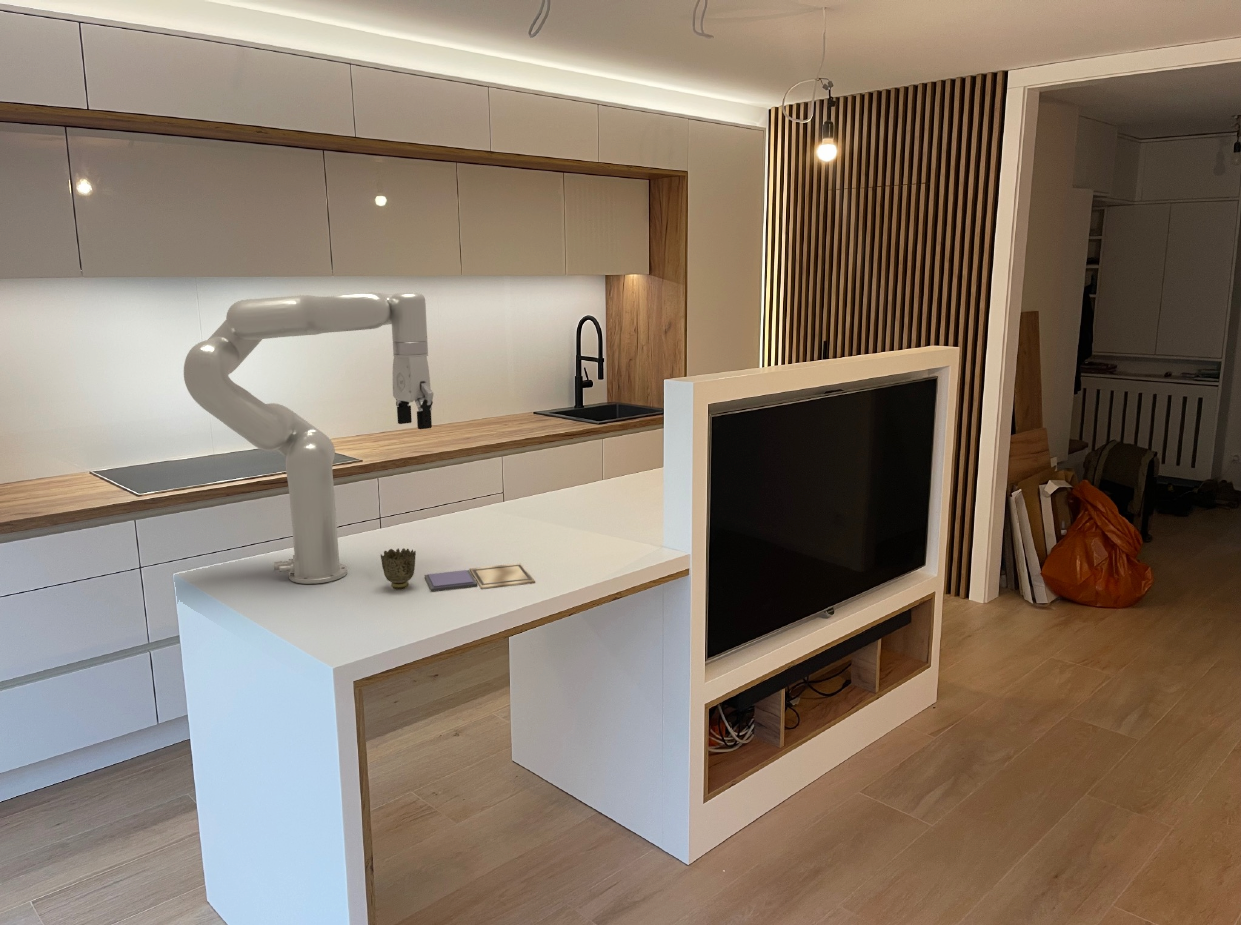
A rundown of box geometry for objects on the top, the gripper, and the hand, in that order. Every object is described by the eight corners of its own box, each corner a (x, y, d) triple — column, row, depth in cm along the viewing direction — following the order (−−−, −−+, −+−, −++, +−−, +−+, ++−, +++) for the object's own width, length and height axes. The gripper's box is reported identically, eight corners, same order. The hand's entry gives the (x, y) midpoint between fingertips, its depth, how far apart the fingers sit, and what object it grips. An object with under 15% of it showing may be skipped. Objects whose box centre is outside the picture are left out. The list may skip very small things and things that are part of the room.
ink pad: (431, 591, 200) (431, 587, 200) (424, 577, 209) (424, 573, 209) (477, 586, 203) (477, 582, 203) (468, 572, 213) (468, 568, 212)
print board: (481, 589, 202) (481, 586, 202) (469, 570, 215) (469, 568, 214) (535, 582, 206) (535, 580, 205) (520, 564, 218) (520, 562, 218)
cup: (408, 594, 198) (406, 558, 197) (376, 592, 200) (374, 556, 198) (422, 583, 206) (421, 548, 204) (391, 581, 207) (389, 546, 205)
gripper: (377, 348, 210) (382, 423, 214) (412, 353, 197) (417, 432, 200) (408, 346, 215) (412, 419, 218) (444, 351, 202) (448, 428, 205)
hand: (414, 425), depth 209 cm, fingers open, 9 cm apart
